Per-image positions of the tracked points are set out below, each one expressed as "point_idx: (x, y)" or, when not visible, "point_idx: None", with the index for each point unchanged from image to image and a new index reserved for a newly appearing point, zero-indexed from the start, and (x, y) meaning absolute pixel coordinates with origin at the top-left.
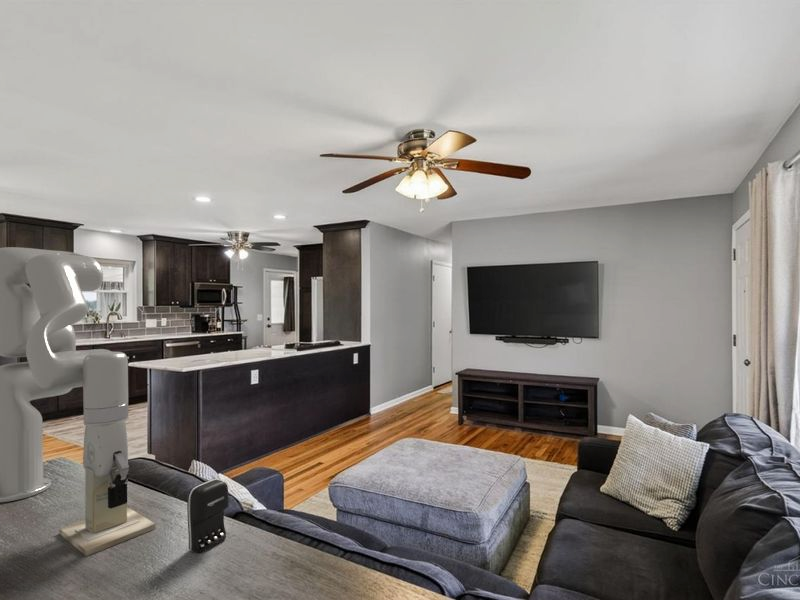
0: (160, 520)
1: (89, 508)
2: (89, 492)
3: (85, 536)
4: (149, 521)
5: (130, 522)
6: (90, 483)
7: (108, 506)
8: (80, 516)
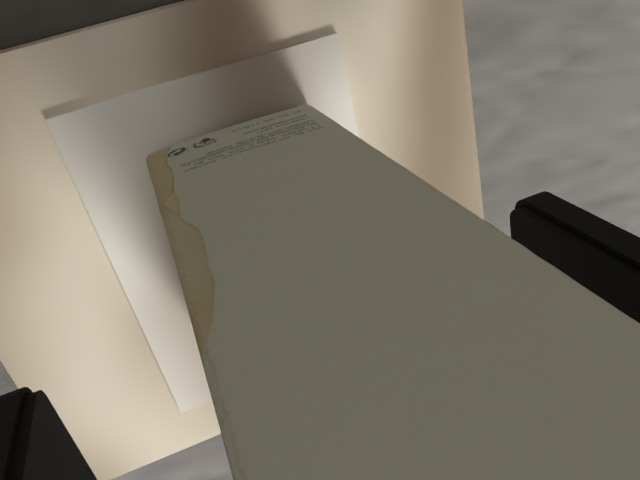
0: (194, 476)
1: (257, 190)
2: (314, 269)
3: (137, 100)
4: (146, 457)
5: (194, 366)
6: (331, 366)
7: (2, 401)
8: (601, 73)
